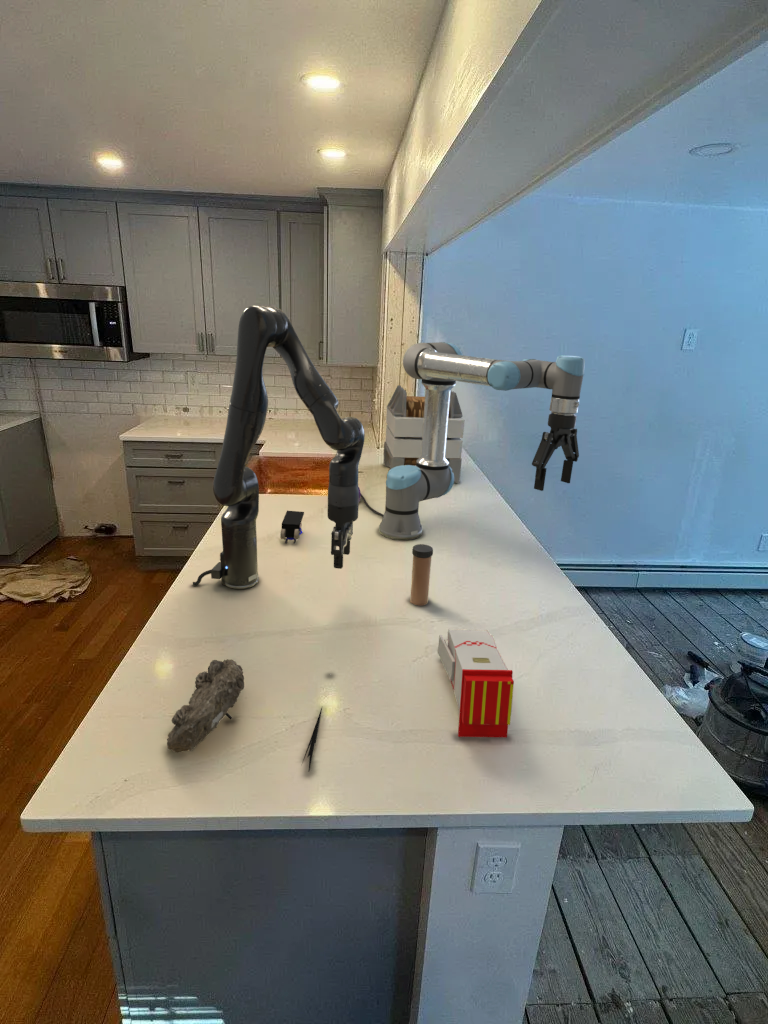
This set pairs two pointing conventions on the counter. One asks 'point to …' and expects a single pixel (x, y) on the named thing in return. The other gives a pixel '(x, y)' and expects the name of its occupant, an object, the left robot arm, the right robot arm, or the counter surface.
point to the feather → (313, 740)
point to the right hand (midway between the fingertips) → (552, 485)
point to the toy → (478, 682)
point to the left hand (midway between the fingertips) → (341, 560)
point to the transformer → (419, 431)
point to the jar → (420, 580)
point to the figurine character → (292, 526)
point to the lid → (422, 551)
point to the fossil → (206, 705)
